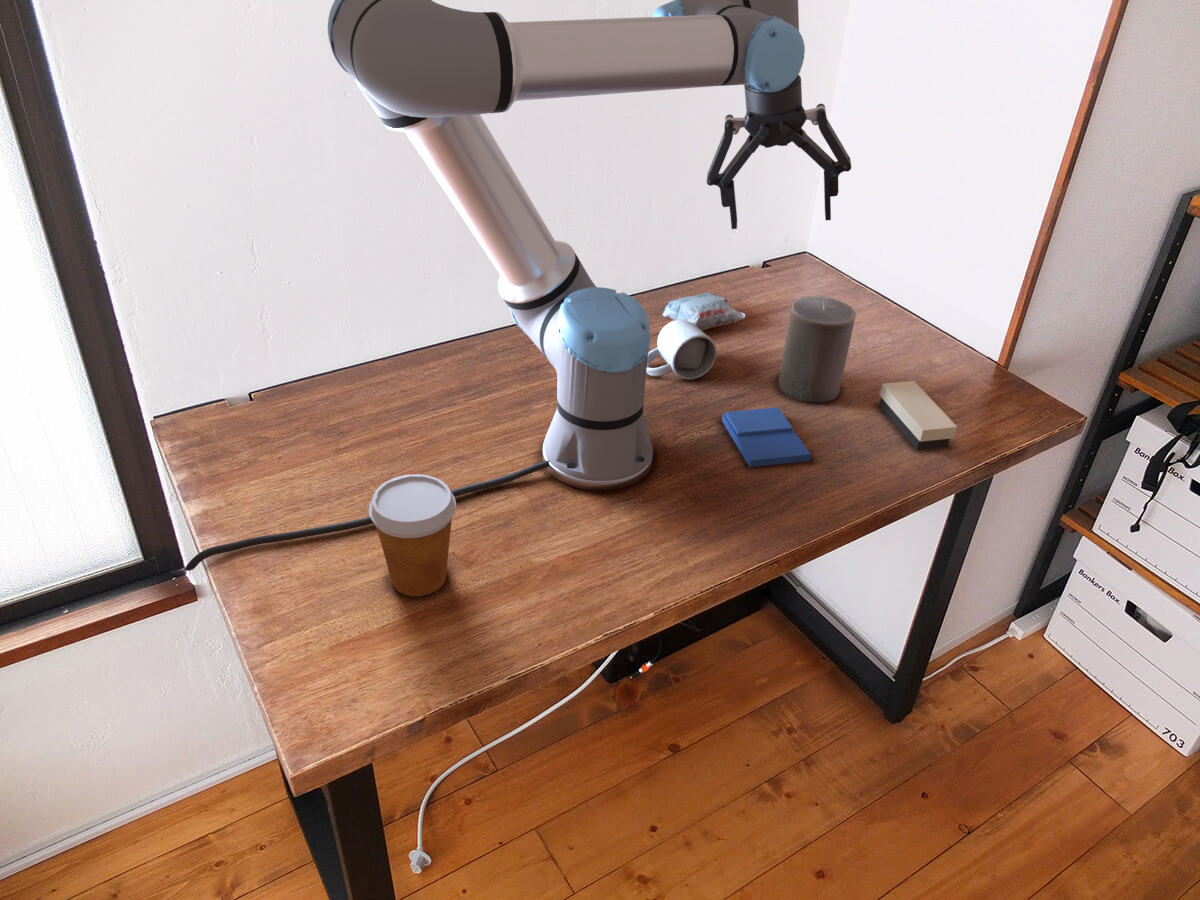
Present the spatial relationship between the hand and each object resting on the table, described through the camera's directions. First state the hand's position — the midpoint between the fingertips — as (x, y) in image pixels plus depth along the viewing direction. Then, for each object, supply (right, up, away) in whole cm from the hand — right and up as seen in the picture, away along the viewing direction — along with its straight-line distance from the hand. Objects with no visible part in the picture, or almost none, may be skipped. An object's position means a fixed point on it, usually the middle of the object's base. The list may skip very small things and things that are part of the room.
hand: (780, 220), depth 141 cm
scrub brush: (+20, -30, +2) cm, 37 cm away
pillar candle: (+6, -24, +10) cm, 27 cm away
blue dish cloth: (-3, -33, -3) cm, 33 cm away
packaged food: (-9, -12, +26) cm, 30 cm away
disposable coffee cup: (-48, -49, -29) cm, 75 cm away
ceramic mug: (-14, -21, +13) cm, 29 cm away
